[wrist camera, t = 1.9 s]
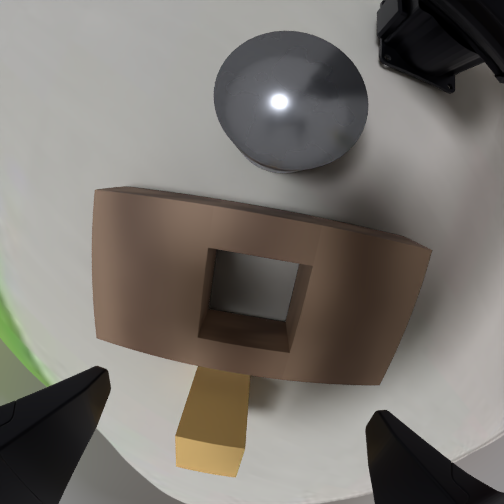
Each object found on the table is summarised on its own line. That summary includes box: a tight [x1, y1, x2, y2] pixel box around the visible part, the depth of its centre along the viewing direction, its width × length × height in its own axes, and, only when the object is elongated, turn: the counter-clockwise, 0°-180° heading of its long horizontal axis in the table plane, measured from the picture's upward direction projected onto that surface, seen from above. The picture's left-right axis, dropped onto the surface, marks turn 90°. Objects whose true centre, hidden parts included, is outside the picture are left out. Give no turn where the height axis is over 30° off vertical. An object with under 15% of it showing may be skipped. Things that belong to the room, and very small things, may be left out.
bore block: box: [92, 186, 432, 385], centre depth 17 cm, size 20×10×4 cm, turn 80°
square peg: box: [175, 366, 250, 477], centre depth 18 cm, size 4×4×8 cm
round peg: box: [214, 31, 368, 173], centre depth 13 cm, size 6×6×7 cm
